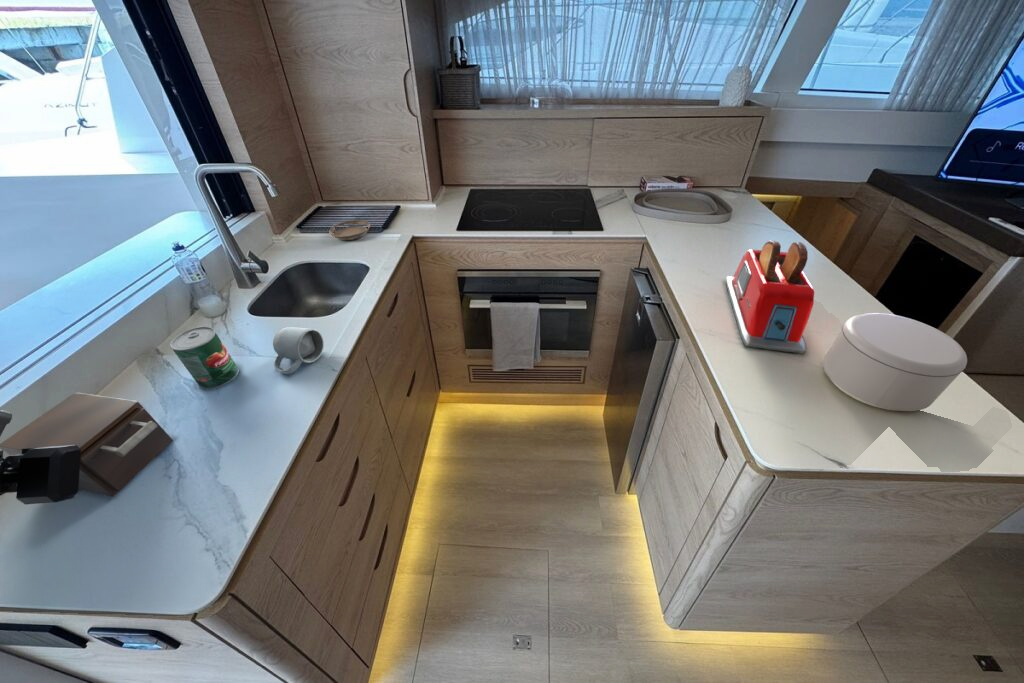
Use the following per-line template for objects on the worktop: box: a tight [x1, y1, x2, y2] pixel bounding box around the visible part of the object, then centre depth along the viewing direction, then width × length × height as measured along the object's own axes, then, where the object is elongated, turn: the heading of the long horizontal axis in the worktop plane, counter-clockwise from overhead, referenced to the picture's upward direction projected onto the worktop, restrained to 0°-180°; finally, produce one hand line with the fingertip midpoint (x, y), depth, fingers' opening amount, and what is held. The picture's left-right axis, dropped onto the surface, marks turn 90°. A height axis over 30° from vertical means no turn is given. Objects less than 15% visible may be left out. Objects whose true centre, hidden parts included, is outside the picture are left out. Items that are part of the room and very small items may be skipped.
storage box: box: [0, 391, 173, 497], centre depth 67 cm, size 14×12×11 cm
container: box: [822, 312, 968, 412], centre depth 76 cm, size 18×18×12 cm
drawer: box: [80, 408, 174, 492], centre depth 66 cm, size 17×10×9 cm, turn 79°
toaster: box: [725, 240, 815, 354], centre depth 94 cm, size 32×13×19 cm, turn 164°
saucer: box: [328, 219, 371, 241], centre depth 147 cm, size 15×15×3 cm
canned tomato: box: [169, 326, 240, 390], centre depth 84 cm, size 8×8×11 cm
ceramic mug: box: [272, 326, 325, 375], centre depth 88 cm, size 11×8×8 cm
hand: (68, 464), depth 54 cm, fingers closed
